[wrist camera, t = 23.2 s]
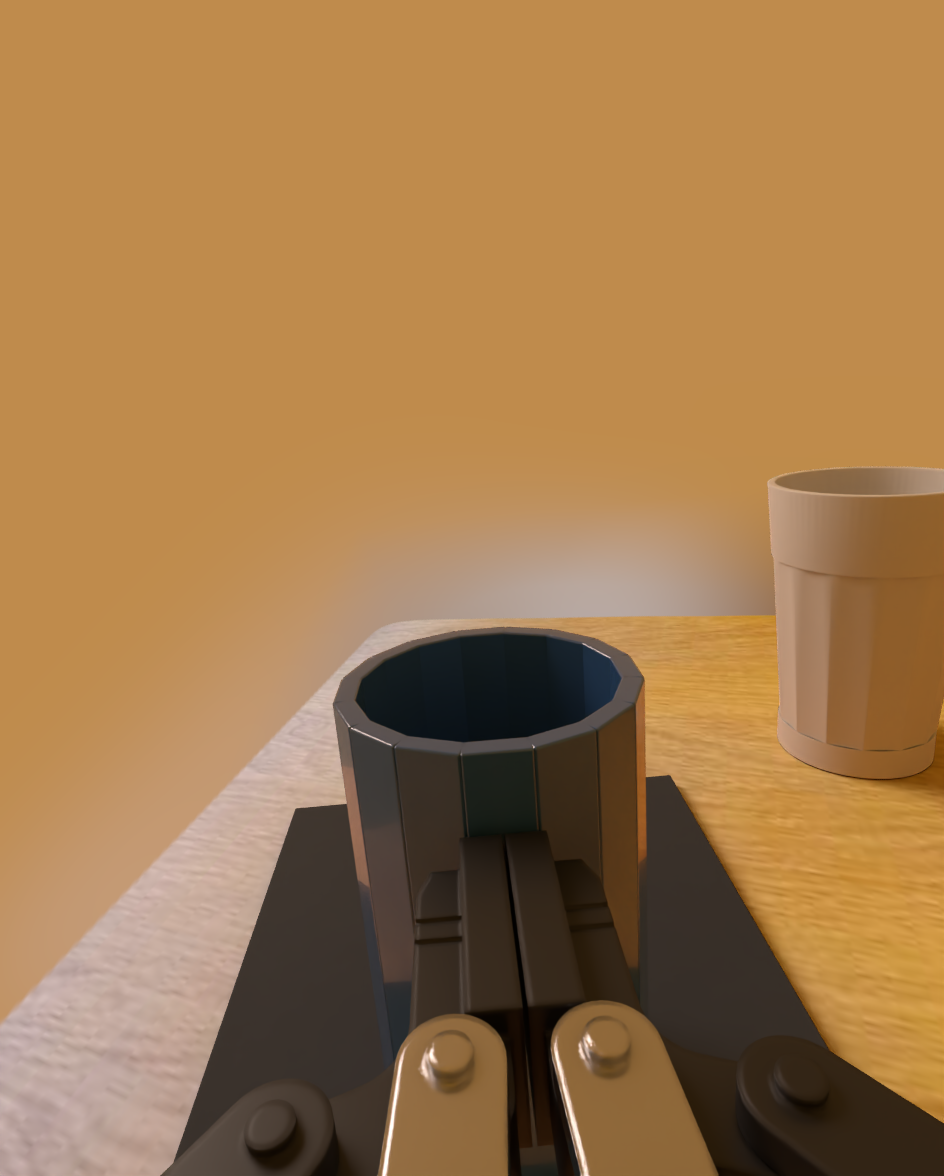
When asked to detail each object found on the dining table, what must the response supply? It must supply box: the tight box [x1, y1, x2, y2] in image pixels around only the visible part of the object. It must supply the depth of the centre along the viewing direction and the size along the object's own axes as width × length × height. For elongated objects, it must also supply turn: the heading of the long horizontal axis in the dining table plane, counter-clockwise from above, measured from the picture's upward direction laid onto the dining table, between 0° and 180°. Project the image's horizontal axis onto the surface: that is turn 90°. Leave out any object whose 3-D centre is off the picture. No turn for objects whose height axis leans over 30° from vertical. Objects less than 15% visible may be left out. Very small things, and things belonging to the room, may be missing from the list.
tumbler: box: [333, 627, 648, 1176], centre depth 16 cm, size 6×6×11 cm
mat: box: [174, 775, 829, 1162], centre depth 22 cm, size 16×18×1 cm
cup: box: [767, 467, 944, 779], centre depth 31 cm, size 8×8×12 cm
